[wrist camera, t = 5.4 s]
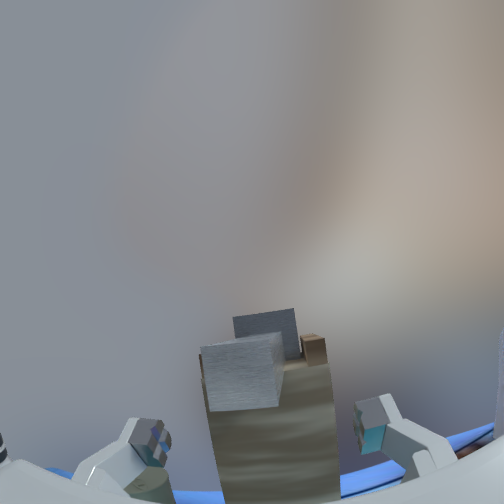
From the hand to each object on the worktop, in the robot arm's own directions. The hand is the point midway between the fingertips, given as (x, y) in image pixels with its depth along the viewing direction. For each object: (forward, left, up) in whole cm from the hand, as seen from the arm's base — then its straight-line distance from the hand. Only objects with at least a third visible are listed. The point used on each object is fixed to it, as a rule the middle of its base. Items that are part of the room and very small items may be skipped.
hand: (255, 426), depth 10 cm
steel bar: (-7, +9, +1) cm, 12 cm away
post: (-10, +13, -24) cm, 29 cm away
